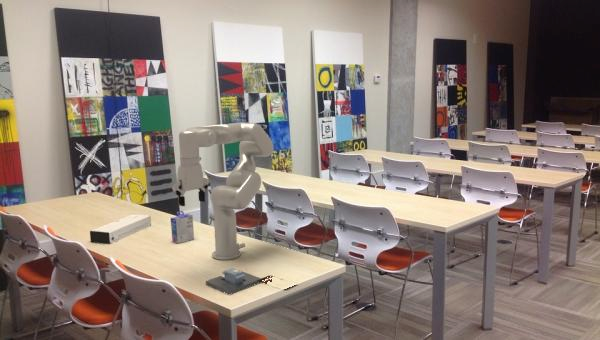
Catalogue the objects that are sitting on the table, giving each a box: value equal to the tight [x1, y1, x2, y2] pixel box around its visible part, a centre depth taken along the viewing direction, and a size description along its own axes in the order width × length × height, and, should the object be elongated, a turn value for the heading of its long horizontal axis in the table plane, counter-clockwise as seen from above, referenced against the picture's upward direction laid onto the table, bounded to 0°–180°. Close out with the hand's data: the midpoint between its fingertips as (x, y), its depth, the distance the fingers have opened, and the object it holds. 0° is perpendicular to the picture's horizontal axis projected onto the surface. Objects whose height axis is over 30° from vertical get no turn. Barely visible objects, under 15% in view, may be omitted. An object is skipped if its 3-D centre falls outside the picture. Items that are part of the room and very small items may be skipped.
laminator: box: [89, 213, 152, 245], centre depth 266 cm, size 34×12×6 cm, turn 161°
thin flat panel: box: [261, 275, 298, 291], centre depth 199 cm, size 7×1×15 cm
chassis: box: [205, 269, 263, 295], centre depth 198 cm, size 16×14×2 cm
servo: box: [221, 267, 245, 285], centre depth 198 cm, size 4×9×6 cm, turn 46°
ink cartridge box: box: [170, 210, 195, 244], centre depth 253 cm, size 10×6×14 cm, turn 137°
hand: (192, 203), depth 209 cm, fingers open, 9 cm apart
